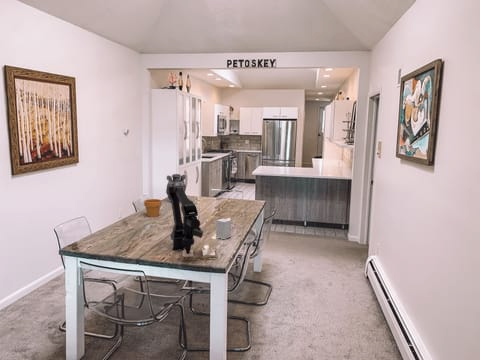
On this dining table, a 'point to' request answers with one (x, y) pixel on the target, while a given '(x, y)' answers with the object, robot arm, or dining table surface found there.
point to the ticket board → (202, 254)
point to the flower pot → (152, 207)
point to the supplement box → (223, 228)
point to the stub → (188, 254)
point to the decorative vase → (176, 181)
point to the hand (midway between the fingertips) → (188, 251)
